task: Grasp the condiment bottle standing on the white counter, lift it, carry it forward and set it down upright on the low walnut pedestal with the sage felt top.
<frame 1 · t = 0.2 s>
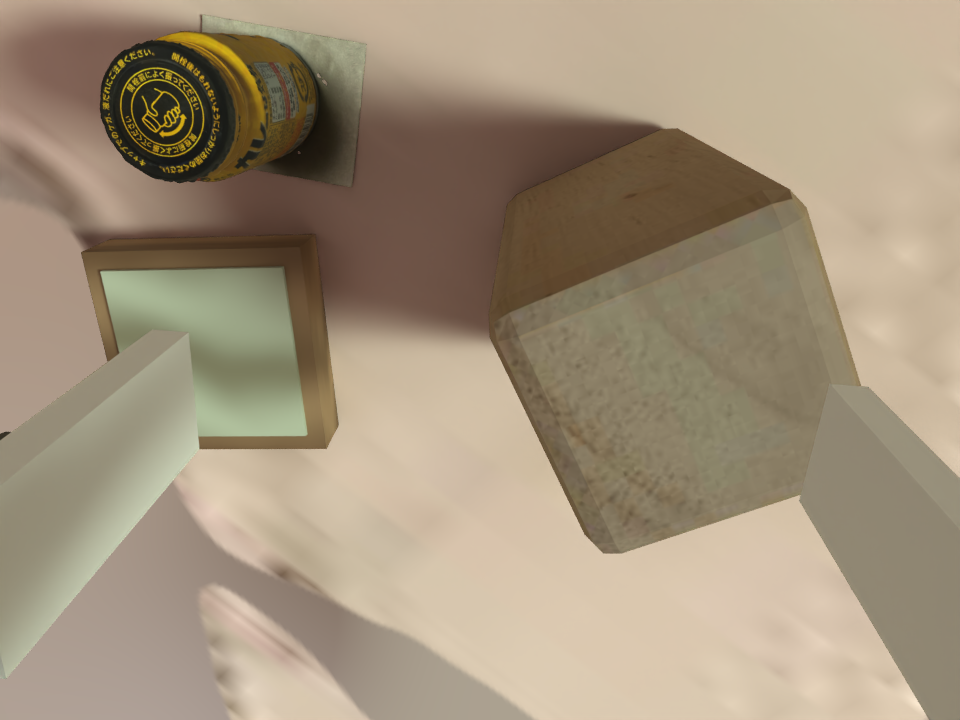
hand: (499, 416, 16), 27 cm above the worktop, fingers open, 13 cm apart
wooden block: (620, 243, 42), on the worktop
condiment: (282, 103, 40), on the worktop
stand: (228, 336, 45), on the worktop
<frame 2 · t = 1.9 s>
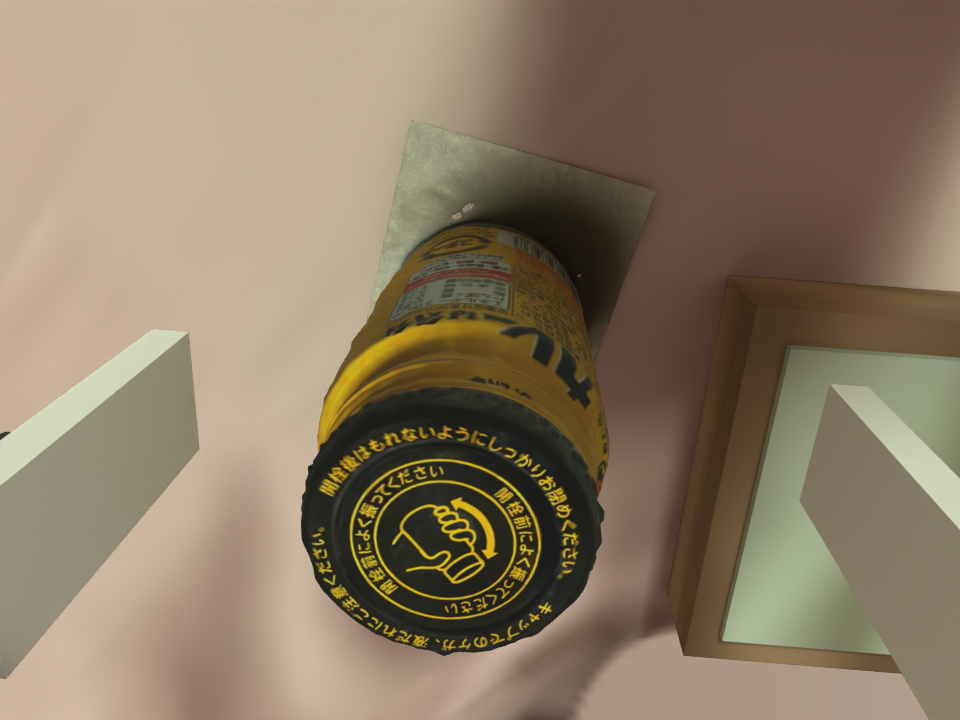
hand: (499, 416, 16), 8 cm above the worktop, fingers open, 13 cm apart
condiment: (495, 287, 24), on the worktop
stand: (877, 463, 25), on the worktop
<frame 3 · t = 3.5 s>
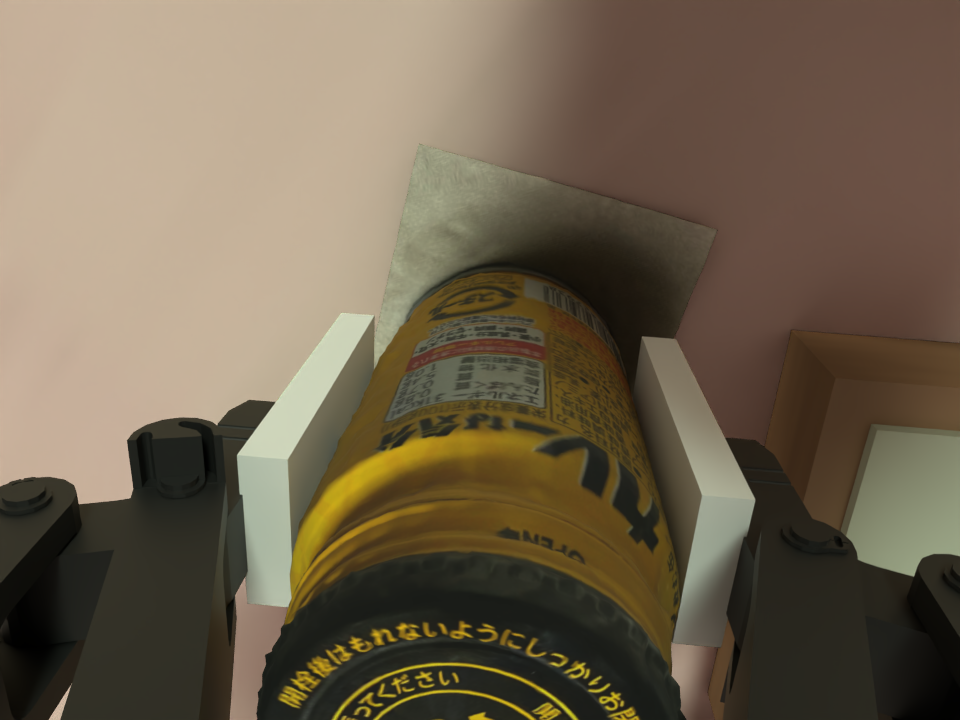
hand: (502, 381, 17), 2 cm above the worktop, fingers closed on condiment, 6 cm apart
condiment: (518, 342, 20), on the worktop, touching gripper
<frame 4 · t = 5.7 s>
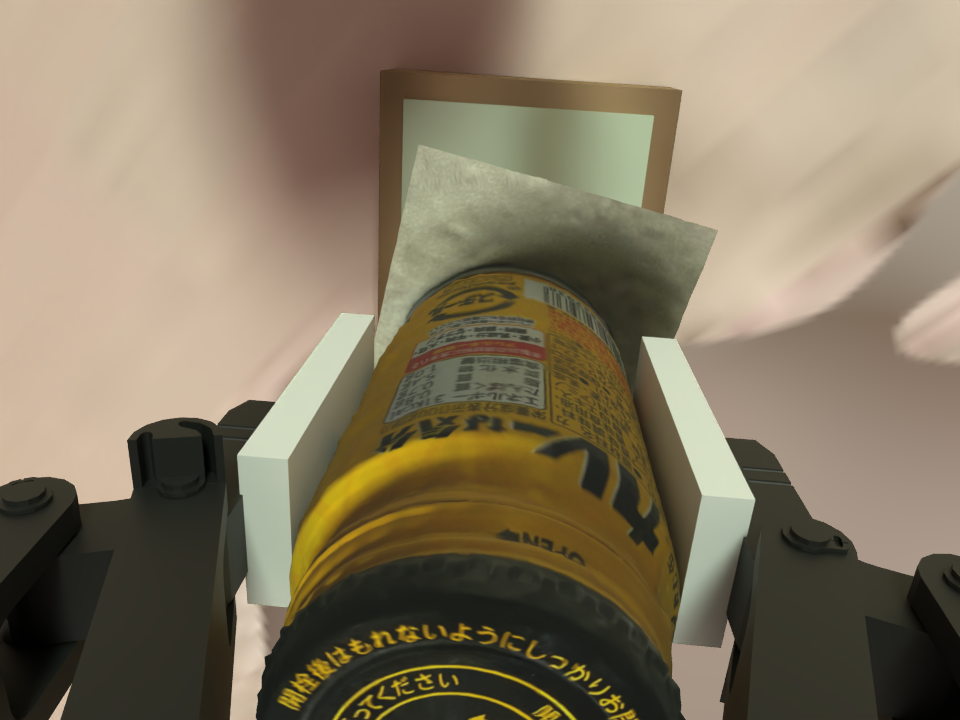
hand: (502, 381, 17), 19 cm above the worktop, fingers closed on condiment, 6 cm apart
condiment: (518, 342, 20), point 17 cm above the worktop, touching gripper
stand: (519, 215, 35), on the worktop
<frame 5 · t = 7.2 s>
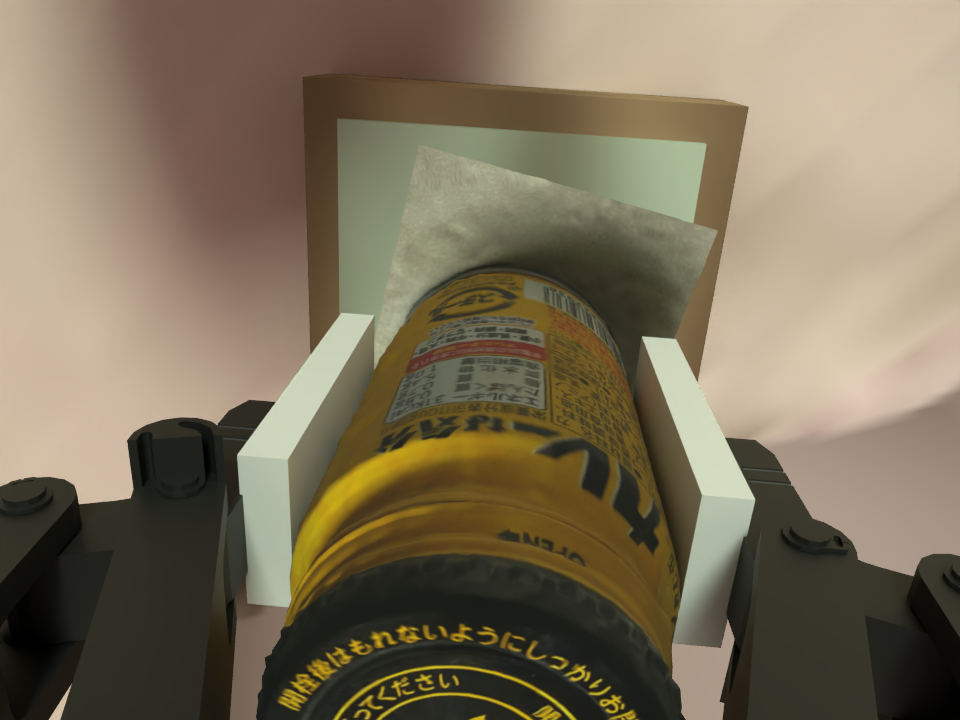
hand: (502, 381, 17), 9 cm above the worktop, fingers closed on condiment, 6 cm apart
condiment: (519, 342, 20), point 6 cm above the worktop, touching gripper
stand: (509, 276, 25), on the worktop
when the fingers open (7 cm above the worktop, at t = 8.2 s): condiment drops 2 cm, resting on stand.
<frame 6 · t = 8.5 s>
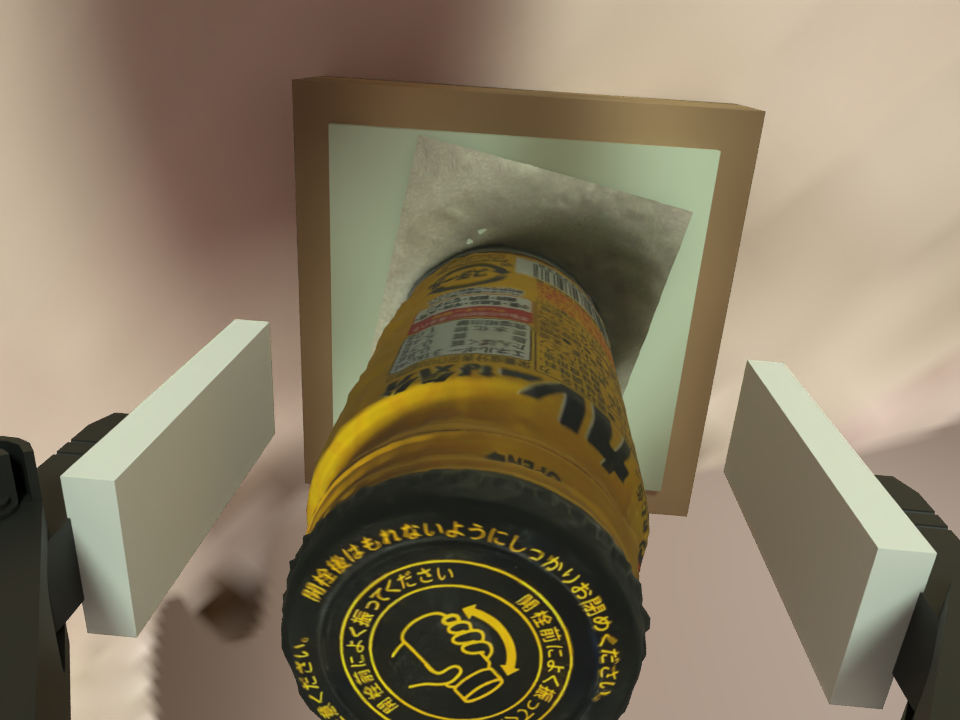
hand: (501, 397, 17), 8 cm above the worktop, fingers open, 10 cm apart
condiment: (512, 318, 21), point 3 cm above the worktop, touching stand
stand: (511, 288, 24), on the worktop
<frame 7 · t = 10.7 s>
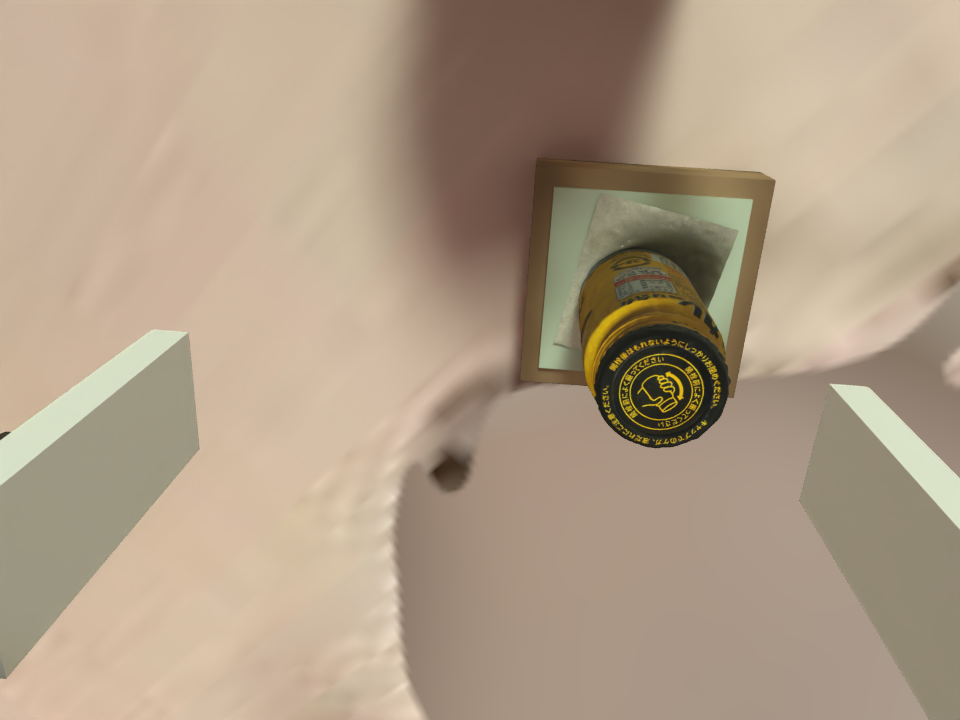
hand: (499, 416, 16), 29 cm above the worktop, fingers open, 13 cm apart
condiment: (641, 286, 40), point 3 cm above the worktop, touching stand
stand: (633, 272, 43), on the worktop
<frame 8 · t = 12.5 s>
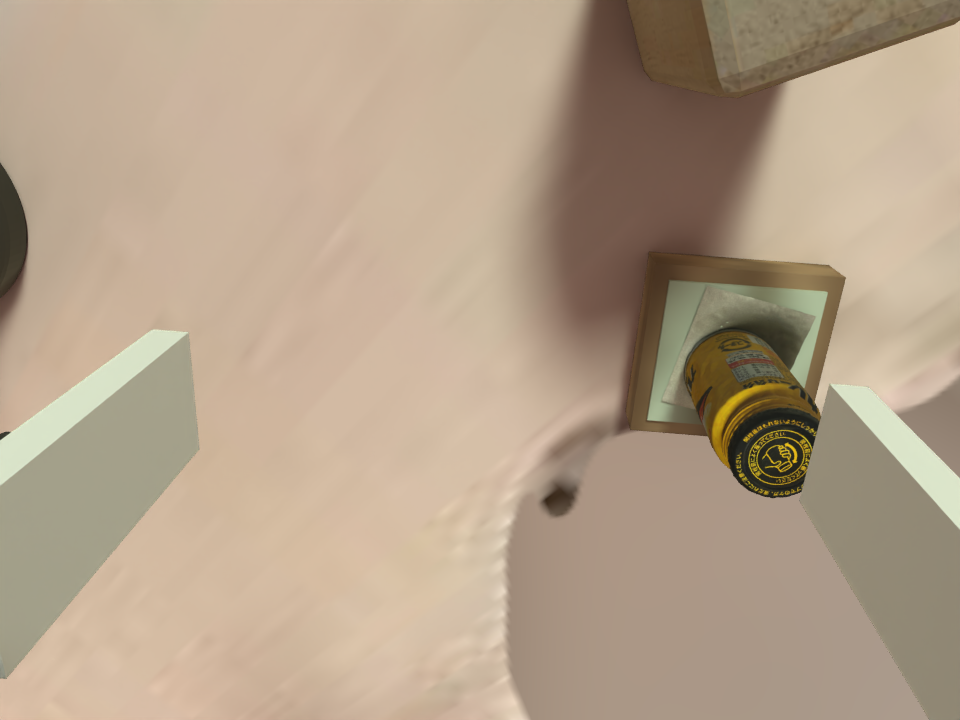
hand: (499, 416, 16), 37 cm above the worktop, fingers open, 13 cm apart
condiment: (734, 357, 50), point 3 cm above the worktop, touching stand
stand: (722, 341, 53), on the worktop
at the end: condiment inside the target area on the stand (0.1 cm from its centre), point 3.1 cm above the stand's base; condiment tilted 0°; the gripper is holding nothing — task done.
